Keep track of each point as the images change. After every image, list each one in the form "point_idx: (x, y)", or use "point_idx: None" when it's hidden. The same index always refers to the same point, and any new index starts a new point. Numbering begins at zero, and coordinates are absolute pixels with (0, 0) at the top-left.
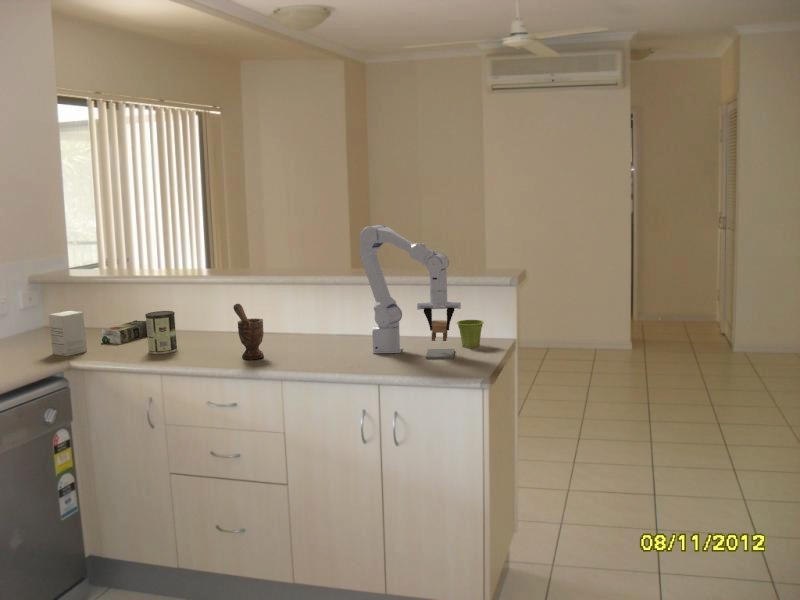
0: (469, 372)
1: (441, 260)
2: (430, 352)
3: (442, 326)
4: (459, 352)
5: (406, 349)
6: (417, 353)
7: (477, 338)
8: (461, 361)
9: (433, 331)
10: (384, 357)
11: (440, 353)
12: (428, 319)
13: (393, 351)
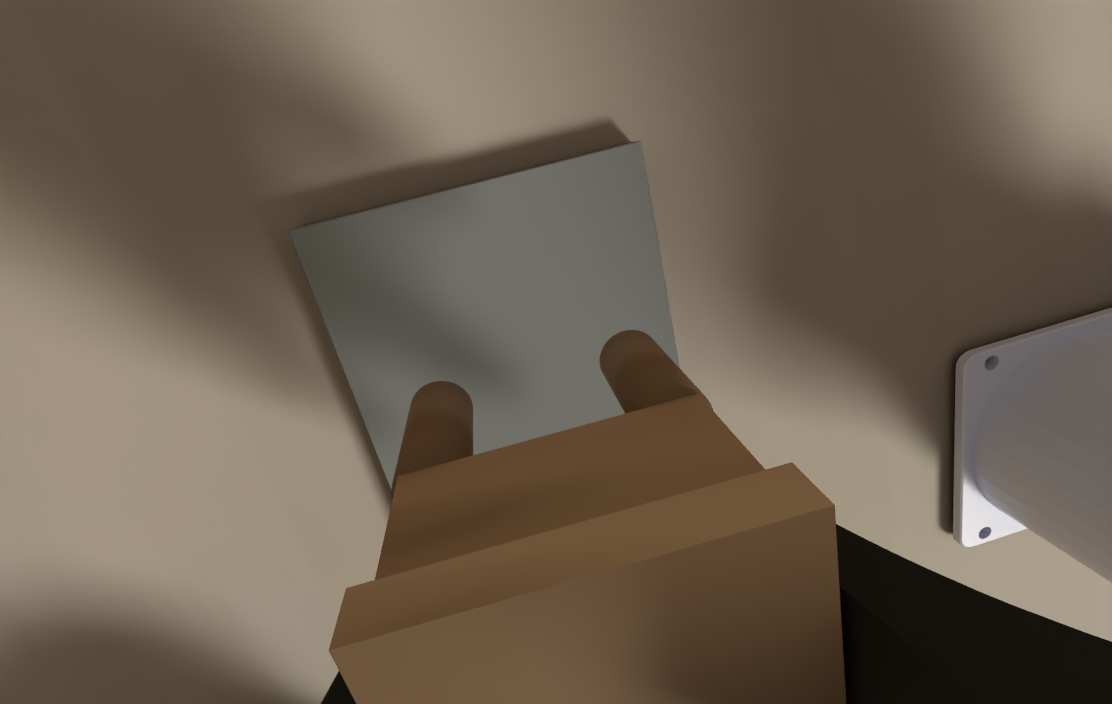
0: None
1: None
2: None
3: (475, 547)
4: (359, 549)
5: (909, 529)
6: (783, 403)
7: None
8: (100, 84)
9: (678, 413)
10: (1090, 146)
11: (512, 358)
12: (1032, 635)
13: (1028, 359)
